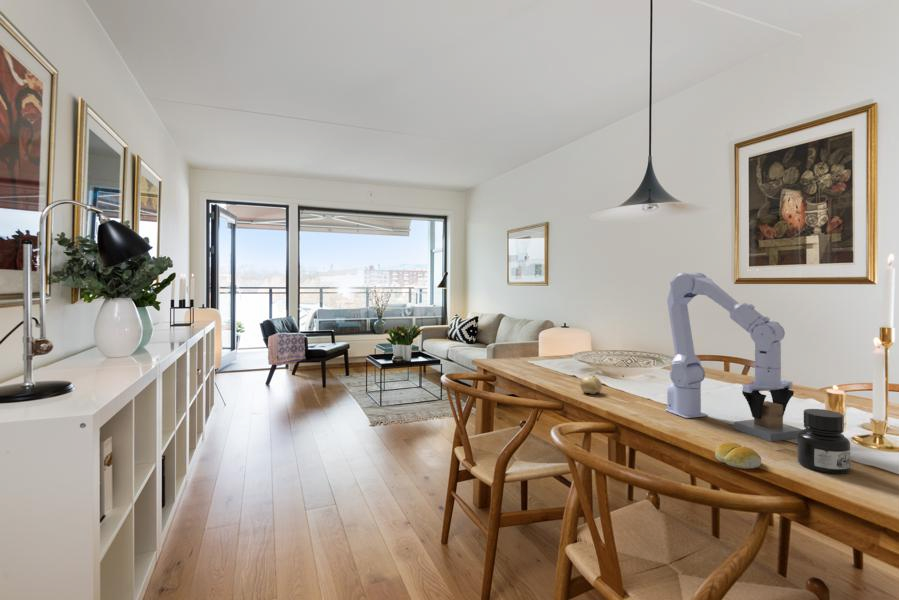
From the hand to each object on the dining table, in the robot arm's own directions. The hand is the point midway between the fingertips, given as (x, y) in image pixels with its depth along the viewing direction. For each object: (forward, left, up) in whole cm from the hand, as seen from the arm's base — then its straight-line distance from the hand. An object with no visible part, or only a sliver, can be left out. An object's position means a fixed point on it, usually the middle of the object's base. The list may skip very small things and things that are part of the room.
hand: (767, 416), depth 122 cm
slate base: (0, 0, -4) cm, 4 cm away
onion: (-55, -20, -5) cm, 59 cm away
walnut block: (0, 0, -2) cm, 2 cm away
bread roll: (+13, -24, -5) cm, 28 cm away
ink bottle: (+21, -9, -5) cm, 23 cm away
